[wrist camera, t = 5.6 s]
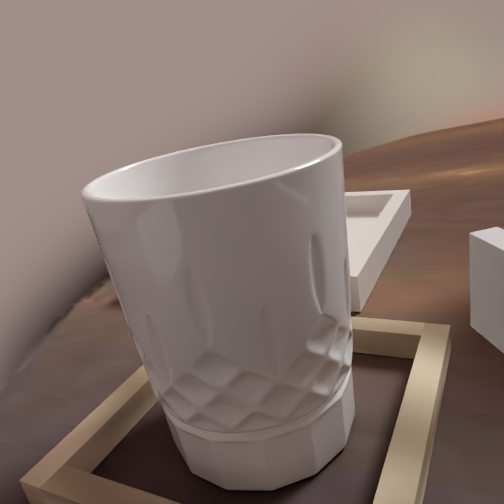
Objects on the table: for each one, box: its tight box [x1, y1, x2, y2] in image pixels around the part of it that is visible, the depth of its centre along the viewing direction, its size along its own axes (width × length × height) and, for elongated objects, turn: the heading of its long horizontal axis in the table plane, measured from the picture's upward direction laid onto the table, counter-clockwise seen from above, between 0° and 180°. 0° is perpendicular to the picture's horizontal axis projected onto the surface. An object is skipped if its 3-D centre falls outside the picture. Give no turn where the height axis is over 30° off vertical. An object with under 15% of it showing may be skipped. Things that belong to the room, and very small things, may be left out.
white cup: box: [81, 134, 355, 491], centre depth 16 cm, size 8×8×10 cm
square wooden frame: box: [19, 317, 451, 504], centre depth 18 cm, size 12×12×1 cm
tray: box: [345, 190, 411, 312], centre depth 33 cm, size 15×15×2 cm
